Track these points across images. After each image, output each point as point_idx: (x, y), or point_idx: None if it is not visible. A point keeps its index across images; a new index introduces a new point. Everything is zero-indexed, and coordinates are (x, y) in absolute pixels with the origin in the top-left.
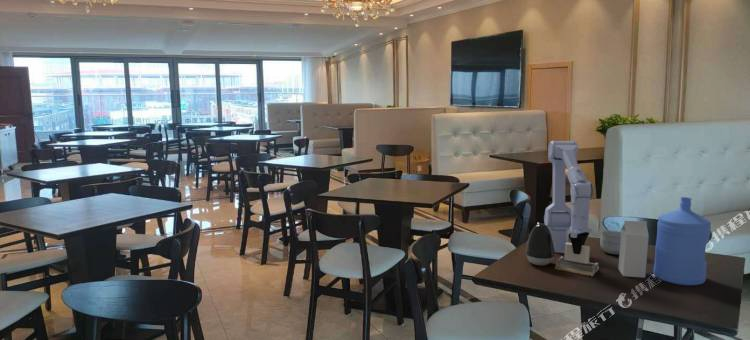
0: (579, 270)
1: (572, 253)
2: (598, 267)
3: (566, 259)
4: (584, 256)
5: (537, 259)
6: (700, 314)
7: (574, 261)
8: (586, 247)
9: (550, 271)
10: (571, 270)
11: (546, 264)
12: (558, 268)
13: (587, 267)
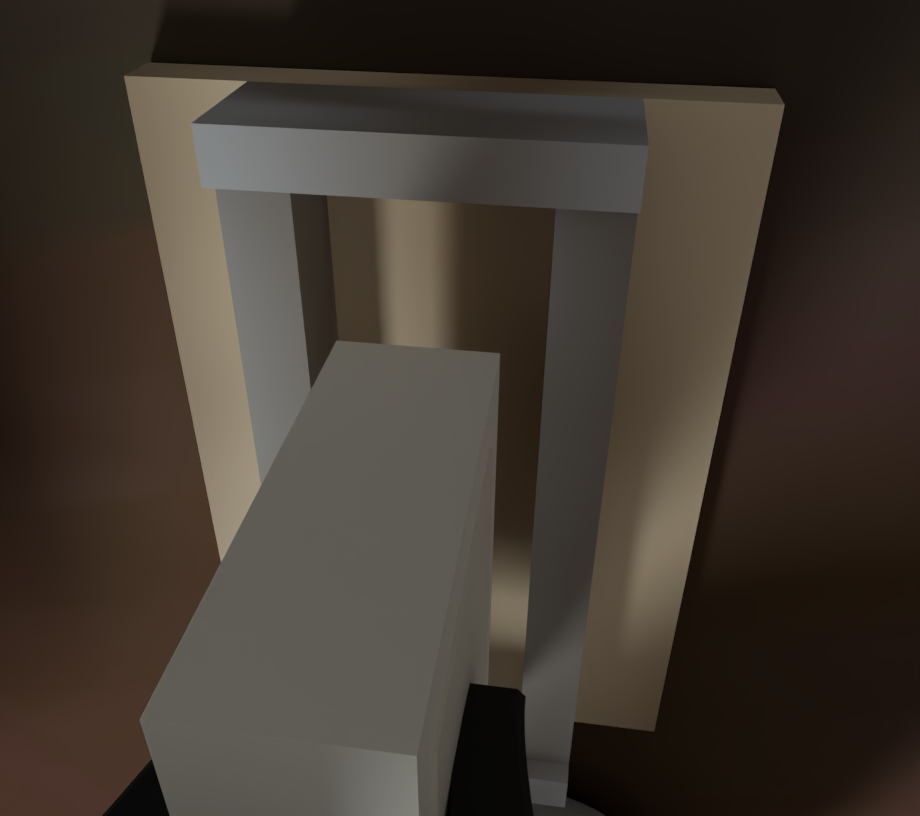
0: (655, 401)
1: None
2: (169, 79)
3: None
4: (474, 547)
5: None
6: None
7: (489, 593)
8: (422, 793)
9: (815, 730)
10: (697, 515)
11: (594, 810)
12: (663, 675)
13: (626, 300)
